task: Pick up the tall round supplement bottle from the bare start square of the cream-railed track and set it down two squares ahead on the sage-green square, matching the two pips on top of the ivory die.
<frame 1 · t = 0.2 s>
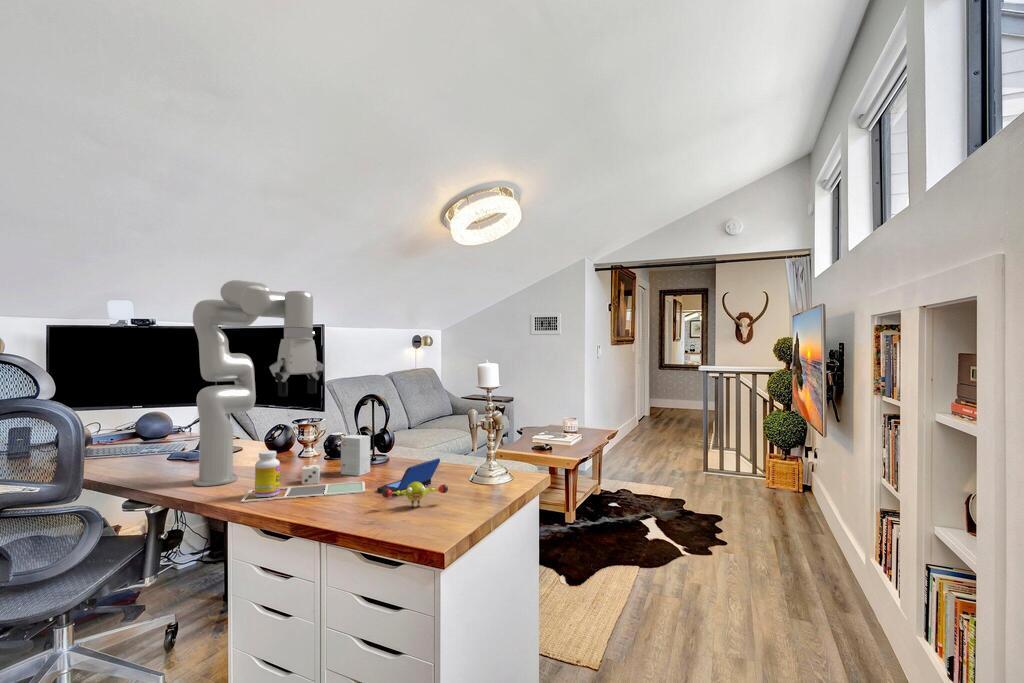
hand: (297, 394, 139), 31 cm above the table, tool pointing down, fingers open, 9 cm apart
supplement bottle: (267, 496, 146), resting in board
handheld game console: (409, 490, 153), on the table
die: (310, 482, 161), on the table
board: (307, 492, 149), on the table
small box: (355, 473, 173), on the table
toy figure: (415, 507, 135), on the table
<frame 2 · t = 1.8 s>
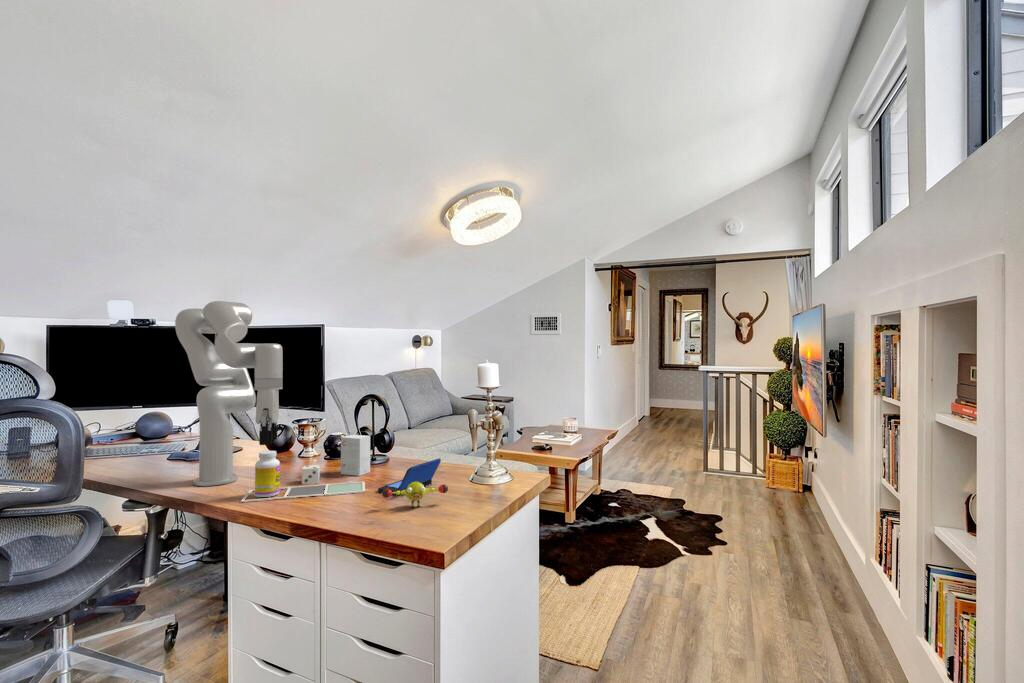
hand: (268, 442, 146), 16 cm above the table, tool pointing down, fingers open, 9 cm apart
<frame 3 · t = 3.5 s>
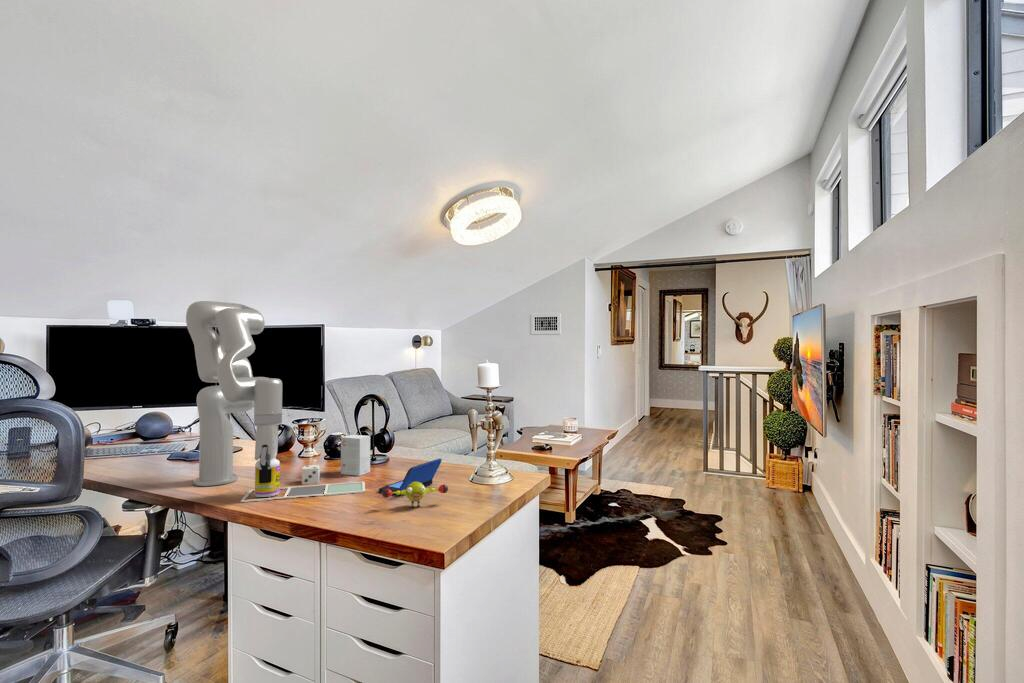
hand: (267, 479, 146), 5 cm above the table, tool pointing down, fingers closed on supplement bottle, 6 cm apart
supplement bottle: (267, 496, 146), resting in board, touching gripper
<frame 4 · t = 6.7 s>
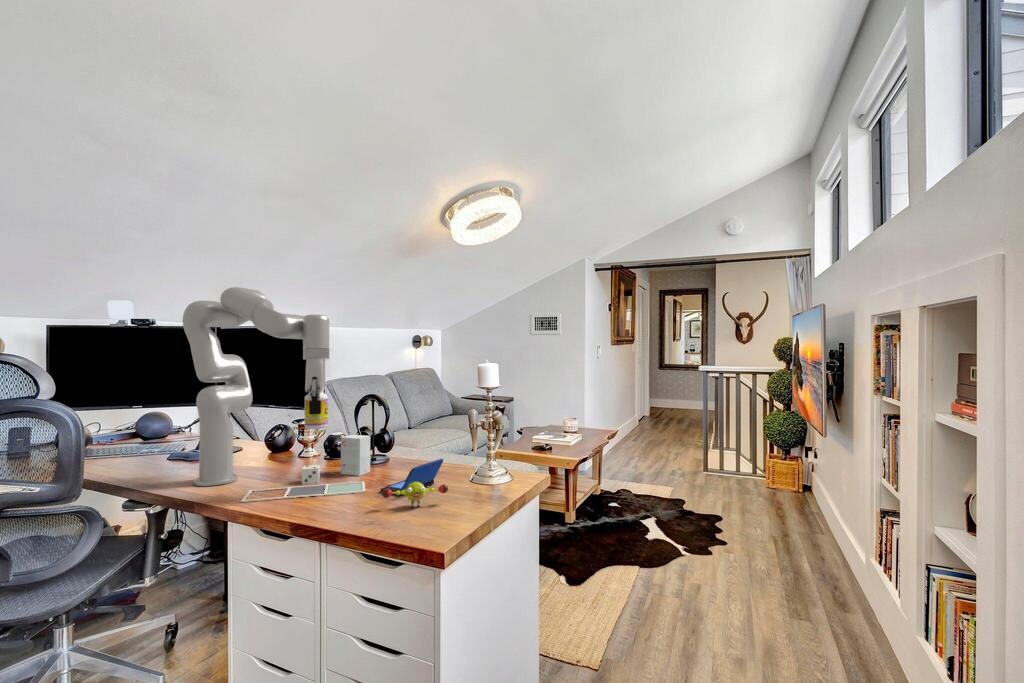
hand: (316, 412, 150), 24 cm above the table, tool pointing down, fingers closed on supplement bottle, 6 cm apart
supplement bottle: (316, 428, 150), point 19 cm above the table, touching gripper
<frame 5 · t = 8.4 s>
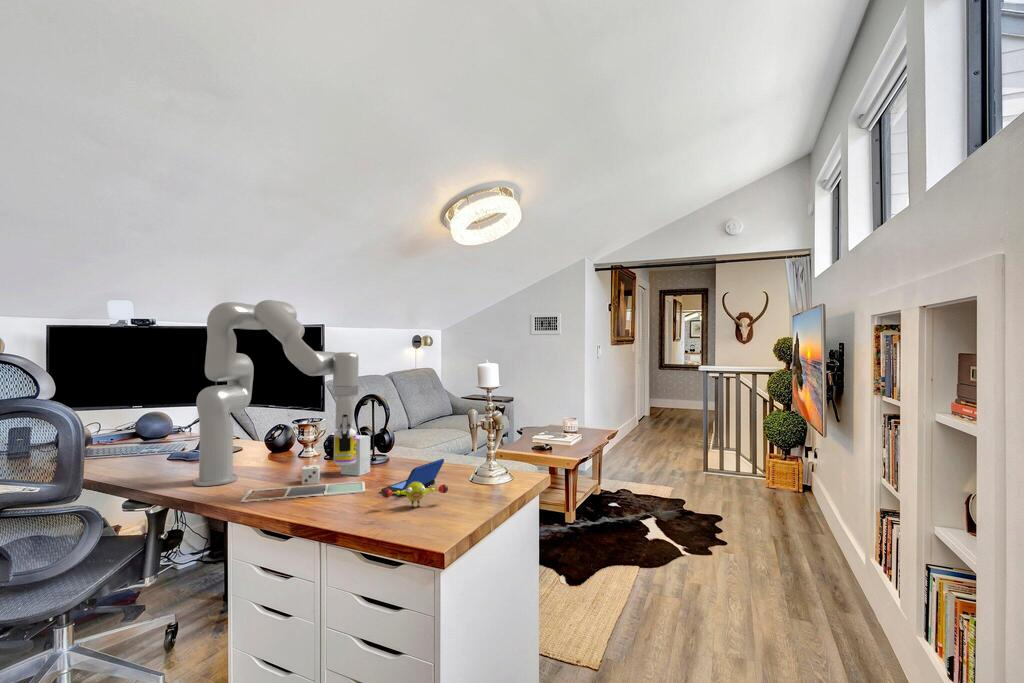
hand: (345, 448, 153), 13 cm above the table, tool pointing down, fingers closed on supplement bottle, 6 cm apart
supplement bottle: (344, 464, 153), point 8 cm above the table, touching gripper
when the fingers open (6 cm above the table, at t = 10.0 s): supplement bottle drops 1 cm, resting on board.
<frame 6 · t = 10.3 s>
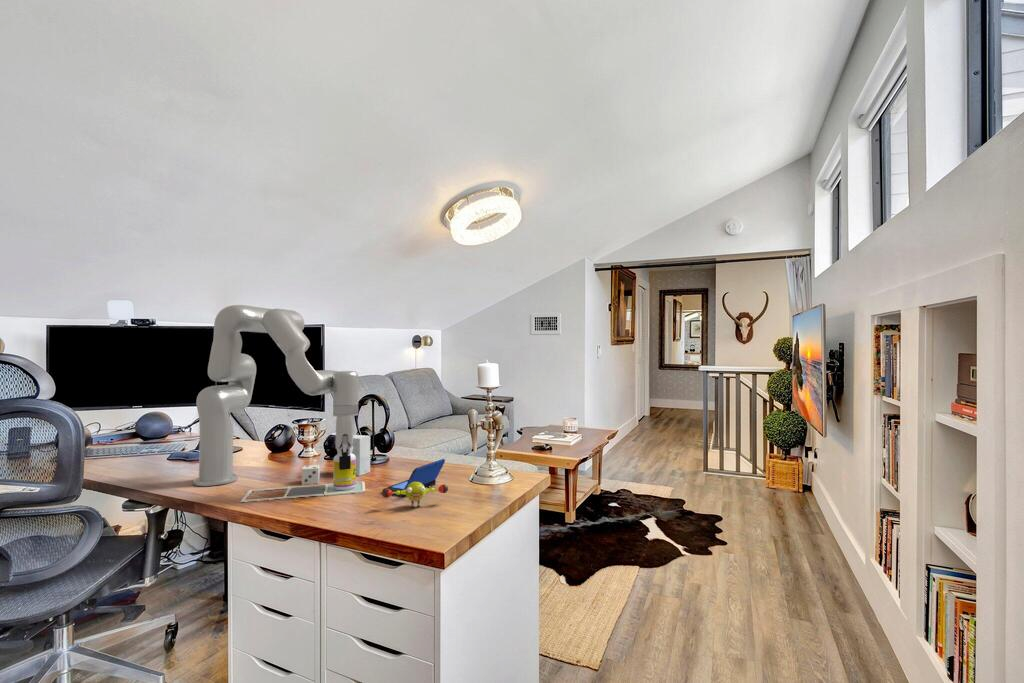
hand: (345, 465, 153), 7 cm above the table, tool pointing down, fingers open, 9 cm apart
supplement bottle: (344, 488, 152), resting on board
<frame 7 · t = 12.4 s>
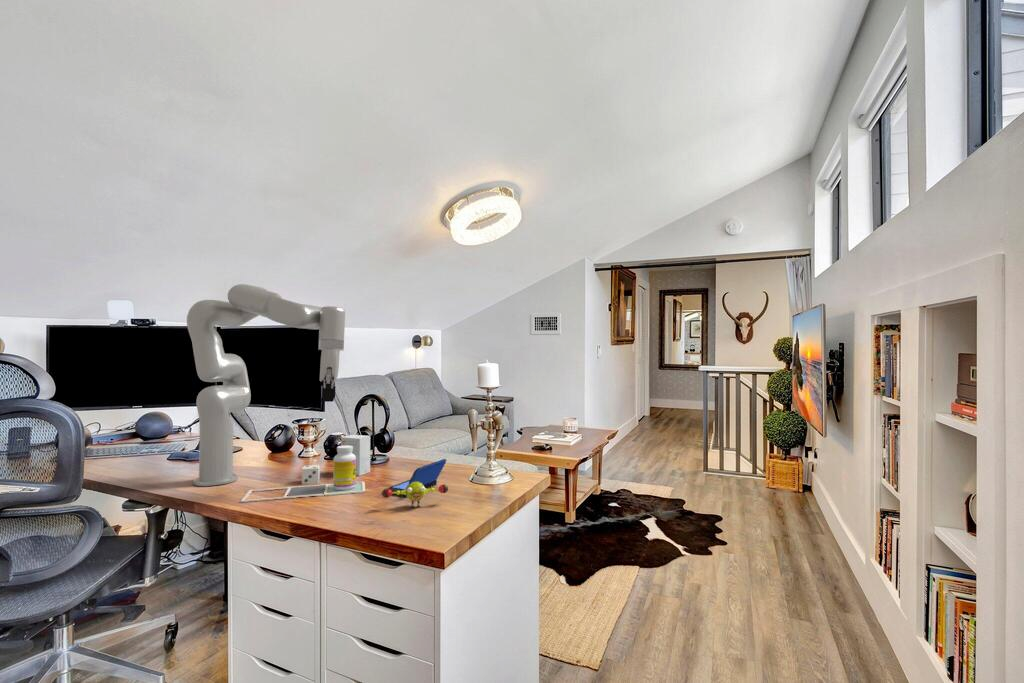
hand: (328, 399, 154), 28 cm above the table, tool pointing down, fingers open, 9 cm apart
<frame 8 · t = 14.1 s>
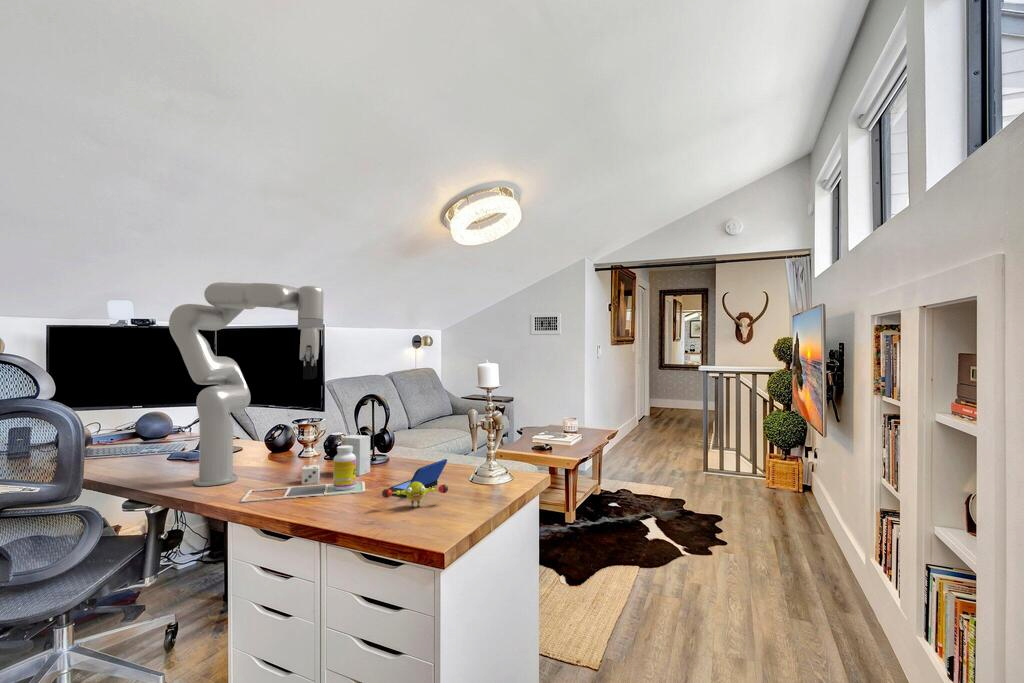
hand: (310, 378, 156), 34 cm above the table, tool pointing down, fingers open, 9 cm apart
at the end: supplement bottle 0.3 cm from the target spot, resting on board; supplement bottle tilted 0°; the gripper is holding nothing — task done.
